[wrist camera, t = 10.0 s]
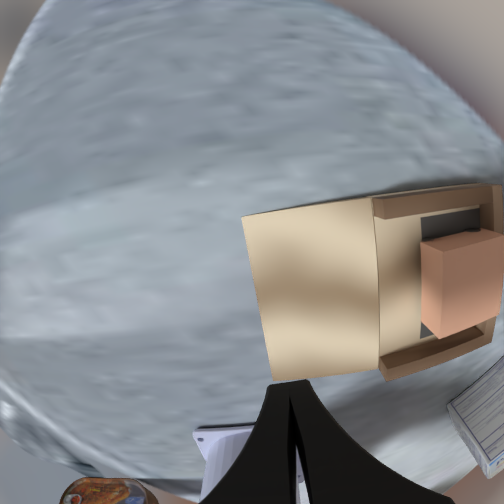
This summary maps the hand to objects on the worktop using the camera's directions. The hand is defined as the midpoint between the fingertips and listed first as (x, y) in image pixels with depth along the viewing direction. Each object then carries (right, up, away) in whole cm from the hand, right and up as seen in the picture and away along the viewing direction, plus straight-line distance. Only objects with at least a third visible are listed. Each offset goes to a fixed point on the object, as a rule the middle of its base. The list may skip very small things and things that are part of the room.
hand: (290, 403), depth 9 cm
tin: (-18, -22, +15) cm, 32 cm away
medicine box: (+20, -8, +10) cm, 24 cm away
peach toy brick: (+11, +4, +6) cm, 13 cm away
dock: (+7, +3, +8) cm, 11 cm away
